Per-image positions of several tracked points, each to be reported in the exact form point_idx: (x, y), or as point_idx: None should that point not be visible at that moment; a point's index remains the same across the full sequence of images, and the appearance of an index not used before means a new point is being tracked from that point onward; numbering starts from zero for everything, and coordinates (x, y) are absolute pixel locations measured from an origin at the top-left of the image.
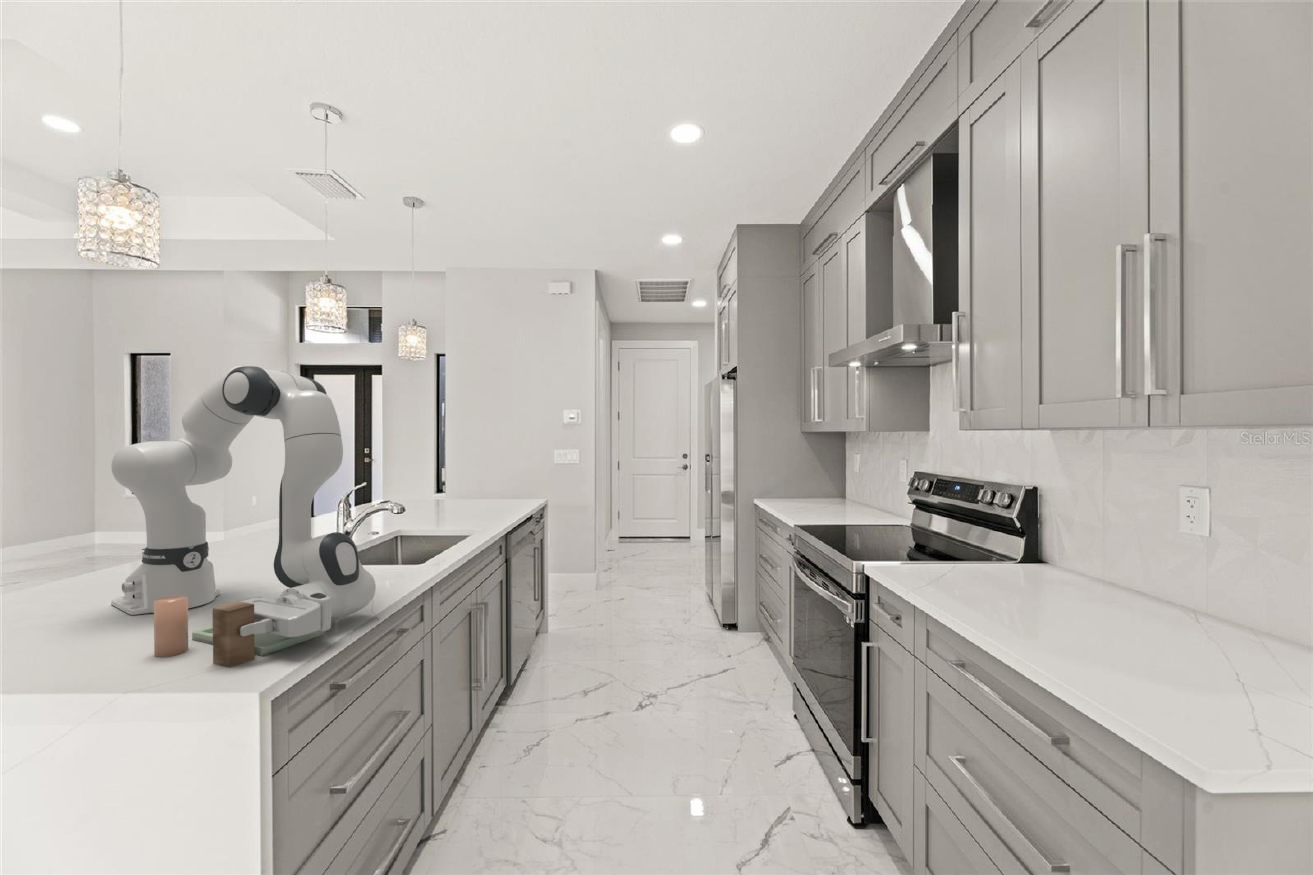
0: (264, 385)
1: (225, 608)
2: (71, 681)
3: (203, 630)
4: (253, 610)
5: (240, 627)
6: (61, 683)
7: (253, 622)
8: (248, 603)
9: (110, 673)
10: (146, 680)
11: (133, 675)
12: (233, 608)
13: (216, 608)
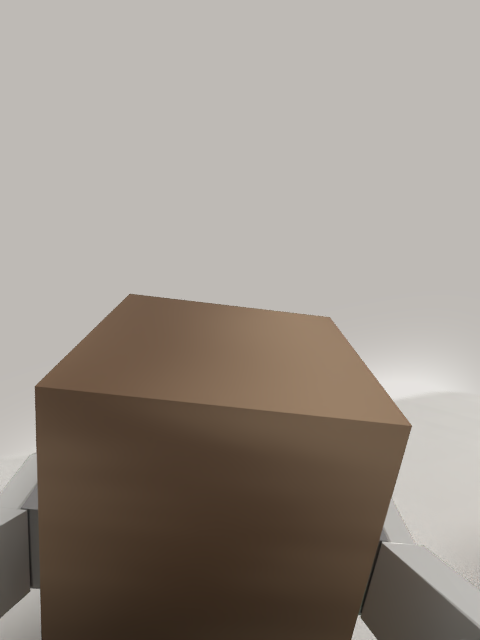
0: None
1: (225, 315)
2: (465, 429)
3: None
4: (44, 461)
5: None
6: (464, 421)
7: (46, 588)
8: (158, 392)
9: (474, 472)
10: None
11: (399, 477)
12: (156, 315)
13: (288, 312)
